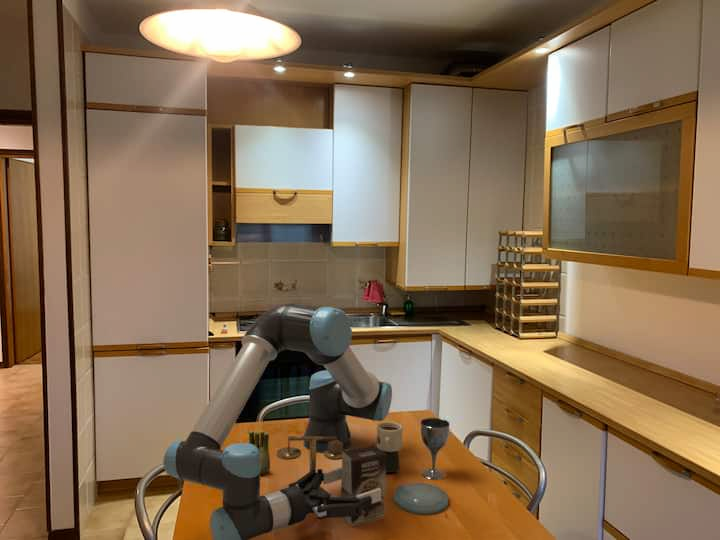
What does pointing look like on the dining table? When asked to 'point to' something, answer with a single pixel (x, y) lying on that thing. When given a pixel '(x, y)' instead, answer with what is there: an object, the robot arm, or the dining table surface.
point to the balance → (313, 451)
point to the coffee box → (364, 480)
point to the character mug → (390, 443)
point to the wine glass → (434, 442)
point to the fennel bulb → (261, 449)
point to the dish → (421, 498)
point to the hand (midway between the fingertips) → (362, 482)
